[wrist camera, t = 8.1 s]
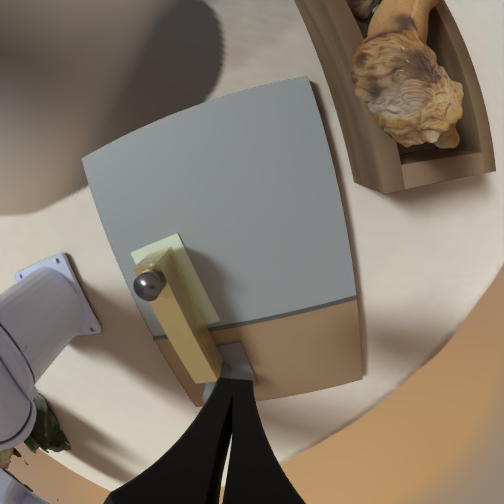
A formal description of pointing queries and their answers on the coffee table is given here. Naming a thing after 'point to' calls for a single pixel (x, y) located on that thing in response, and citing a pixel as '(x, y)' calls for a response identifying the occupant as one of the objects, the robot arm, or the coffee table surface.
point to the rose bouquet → (39, 436)
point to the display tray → (362, 119)
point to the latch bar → (178, 314)
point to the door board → (241, 235)
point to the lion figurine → (405, 75)
